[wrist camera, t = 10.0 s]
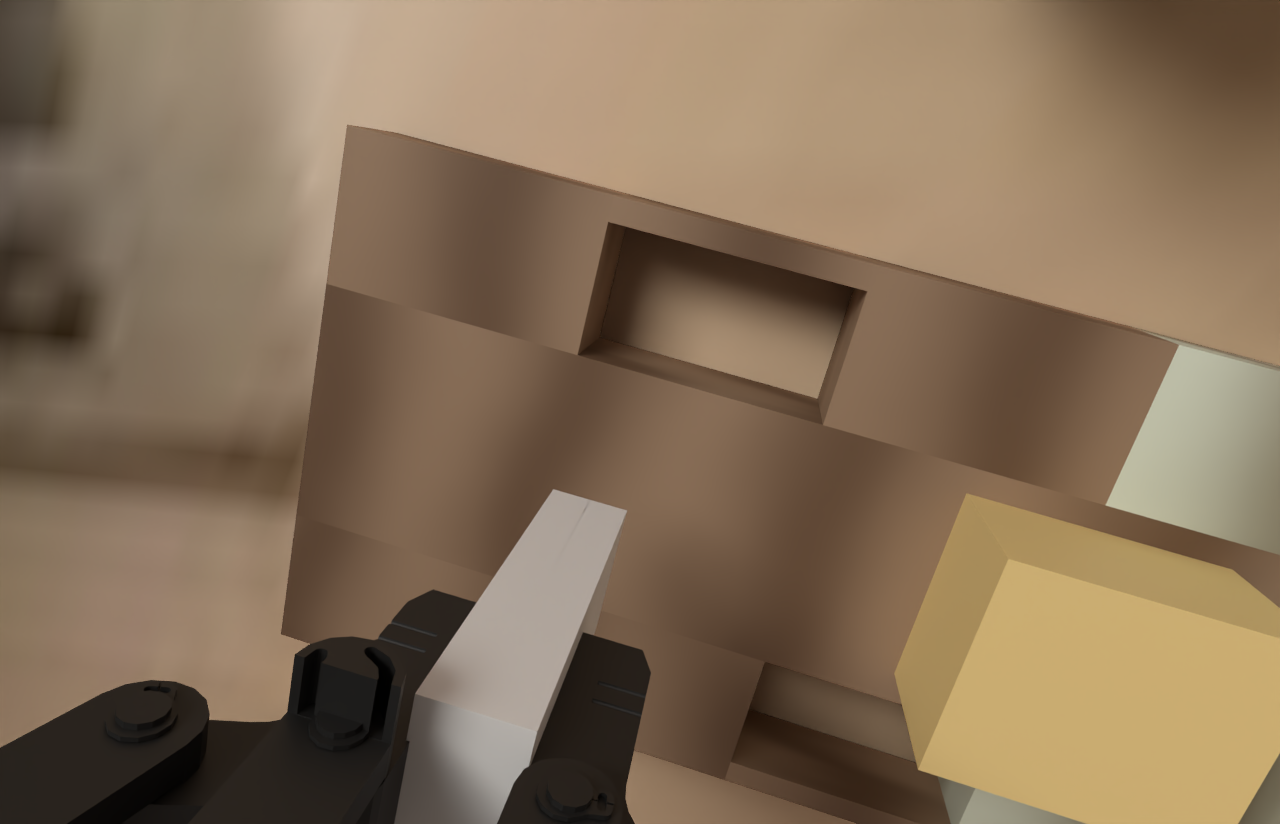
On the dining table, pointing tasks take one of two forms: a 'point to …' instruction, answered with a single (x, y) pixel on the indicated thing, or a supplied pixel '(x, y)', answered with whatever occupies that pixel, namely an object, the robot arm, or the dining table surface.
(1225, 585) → the ochre block
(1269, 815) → the board
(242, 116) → the dining table surface
